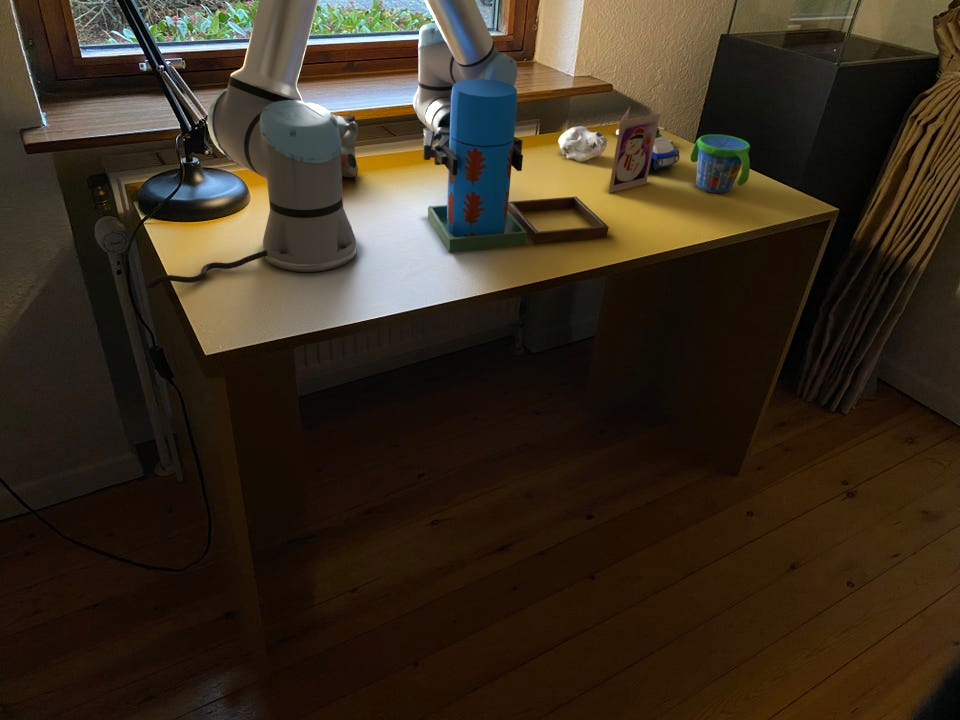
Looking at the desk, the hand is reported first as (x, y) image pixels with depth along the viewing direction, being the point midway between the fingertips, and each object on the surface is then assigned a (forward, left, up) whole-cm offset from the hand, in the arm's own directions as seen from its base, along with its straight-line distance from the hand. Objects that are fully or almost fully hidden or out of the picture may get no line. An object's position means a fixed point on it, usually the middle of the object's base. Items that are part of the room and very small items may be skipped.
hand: (488, 165), depth 123 cm
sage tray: (0, +4, -14) cm, 15 cm away
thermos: (0, +4, -14) cm, 14 cm away
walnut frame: (+16, +4, -14) cm, 22 cm away
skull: (+36, +37, -14) cm, 53 cm away
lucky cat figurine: (-22, +36, -14) cm, 45 cm away
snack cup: (+58, +15, -14) cm, 61 cm away
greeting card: (+38, +21, -14) cm, 46 cm away
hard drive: (+58, +46, -14) cm, 75 cm away
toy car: (+50, +30, -14) cm, 60 cm away
